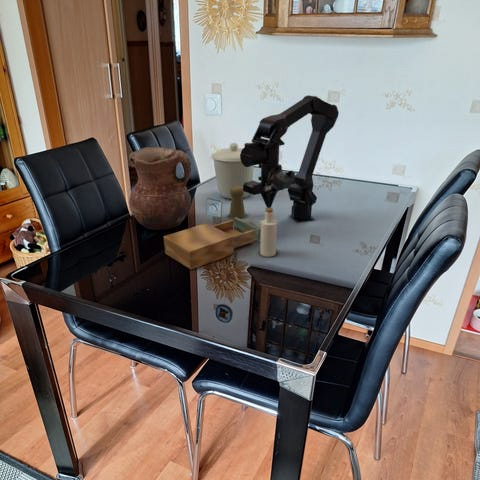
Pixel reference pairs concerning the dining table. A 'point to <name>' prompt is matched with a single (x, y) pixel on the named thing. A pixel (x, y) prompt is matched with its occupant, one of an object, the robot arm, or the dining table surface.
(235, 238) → the drawer
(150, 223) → the jug
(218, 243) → the wooden box
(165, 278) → the dining table surface
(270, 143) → the robot arm
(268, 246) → the bottle
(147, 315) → the dining table surface
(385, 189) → the dining table surface
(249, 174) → the canister
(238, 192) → the pepper mill
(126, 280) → the dining table surface
